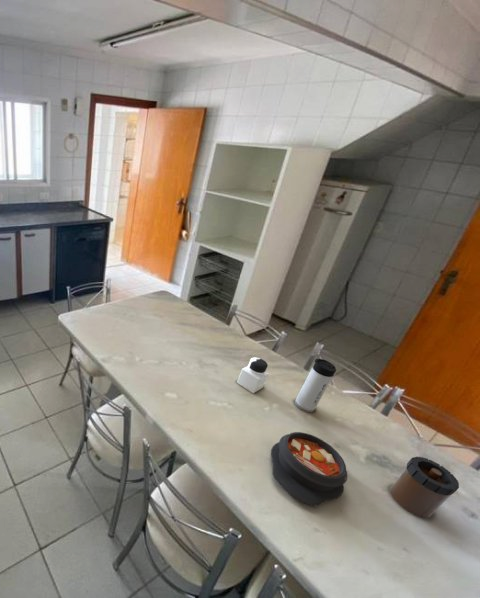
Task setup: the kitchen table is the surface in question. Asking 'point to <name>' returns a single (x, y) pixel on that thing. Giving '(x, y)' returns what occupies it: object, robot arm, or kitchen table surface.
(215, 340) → the kitchen table surface
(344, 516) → the kitchen table surface
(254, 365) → the medicine bottle
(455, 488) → the black segmented ring
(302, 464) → the casserole
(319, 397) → the travel mug
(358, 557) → the kitchen table surface
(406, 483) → the brown cylinder
